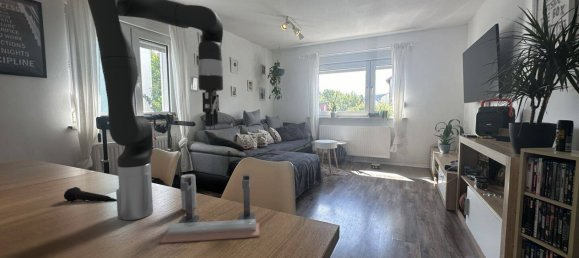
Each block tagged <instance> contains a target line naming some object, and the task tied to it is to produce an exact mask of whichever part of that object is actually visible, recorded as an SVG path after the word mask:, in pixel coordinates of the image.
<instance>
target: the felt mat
mask: <svg viewBox="0 0 579 258" xmlns="http://www.w3.org/2000/svg"><path fill="white" fill-rule="evenodd" d="M244 238H245V239H246V238H260V222H256V231H245V232H229V233H213V234H197V235H181V236H168V231H167V232H165V234H164V235H163V237H161V239H160V244H164V243H165V244H167V243H168V244H169V243H180V242H181V243H182V242H183V243H184V242H196V241H213V240H226V239H227V240H228V239H244Z"/></svg>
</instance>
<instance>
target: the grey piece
mask: <svg viewBox="0 0 579 258" xmlns="http://www.w3.org/2000/svg"><path fill="white" fill-rule="evenodd" d="M187 176H193V193H194V210H195V209H196V208H197V185H196V183H197V182H196V175H195V173H194V174H193V173H187V174H186V173H185V174H182V175H181V176H180V183H181V182H185V180H184V178H185V177H187ZM180 192H181V194H180V195H181V196H180V197H181V208H182V210H183V211H184V212H186V205H185V191H181V190H180Z"/></svg>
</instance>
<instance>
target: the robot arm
mask: <svg viewBox="0 0 579 258" xmlns="http://www.w3.org/2000/svg"><path fill="white" fill-rule="evenodd" d="M87 3H88V7H89V10H90V14H91V16H92V21H93V24H94V28H95V29H94V30H95V33H96V41H97V45H98V51H99V58H100V63H101V68H102V74H103V79H104V85H105V92H106V100H107V109H108V111H107V112H108V114H107V115H108V129H109V135H110V137H111V139H112V141H113V142H115V143H116V145H119V146H123V147H124V148H123V151H122V152H121V154H120V155H119V156H118V157H117V159H116V160H117V162H116V163H117V175H118V176H117V178H118V189H116V190H115V192H116V199H117V201H116V209H117V210H116V211H117V219H118V220H119V219H122V220H124V221H133V220H140V219H143V218H146V217H148V216H150V215H152V214H153V212H154V201H153V187H152V186H153V185H152V184H153V183H152V168H151V167H152V165H151V158H152V156H153V143H154V140H153V137H154V135H153V127H152V124H151V121H150V120H149V119H147V118H146V117H144V116H141V115H136V113H135V109H134V93H135V90H136V88H137V87H136V86H137V82H138V78H139V72H138V65H137V59H136V55H135V51H134V49H133V46H132V45H131V43H130V41H129V39H128V38H127V36H126V34H125V32H124V30H123V27H122V25H121V22H120V18H119V17H129V18H138V19H139V18H140V19H146V20H150V21H155V22H158V23H159V22H160V23H162V24H163V23H164V24H166V25H169V26H174V27H179V28H182V29H189V28H192V29H196V30H199V31H201V35H202V36H201V41H200V42H199V43H198V47H197V50H198V52H197V53H198V66H197V71H198V73H197V76H198V77H197V79H198V89H199V90H200V91H203V92H202V113H203V114H204V119H205V120H204V121H205V124H204V125H205V126H206V127H213V126H215V125H216V126H217V125H218V124H219V116H218V115H219V112H220V98H219V97H220V96H219V94H217V92H219V91H223V90H224V79H223V78H224V75H223V63H222V44H223V36H224V26H223V21H222V20H221V18H220V17H219V16H218V14H217V13H216V12H215V11H214V10H213V9H212V8H209V7H207V6H203V5H199V4H196V5H195V4H184V3H181V2H177V1H174V0H87Z"/></svg>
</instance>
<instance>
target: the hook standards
mask: <svg viewBox="0 0 579 258" xmlns="http://www.w3.org/2000/svg"><path fill="white" fill-rule="evenodd" d="M250 175H251V174H250V173H248V174H242V181H241V183H242V184H241V186H242V187H241V189H242V191H243V193H242V194H243V197H242V198H243V212H240V213H239V215H238V219H237V220H246V219H256V212H255V211H253V212H251V180H250V179H251V178H250ZM184 180H185V182H181V181H180V192H181V191H185V205H186V211H185V215H183V216H182V217H181V218H180V219H179V221H178V222H177V223H194V222H199V219H200V214H198V215H195V209H194V193H193V176H187V177H185V178H184Z"/></svg>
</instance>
